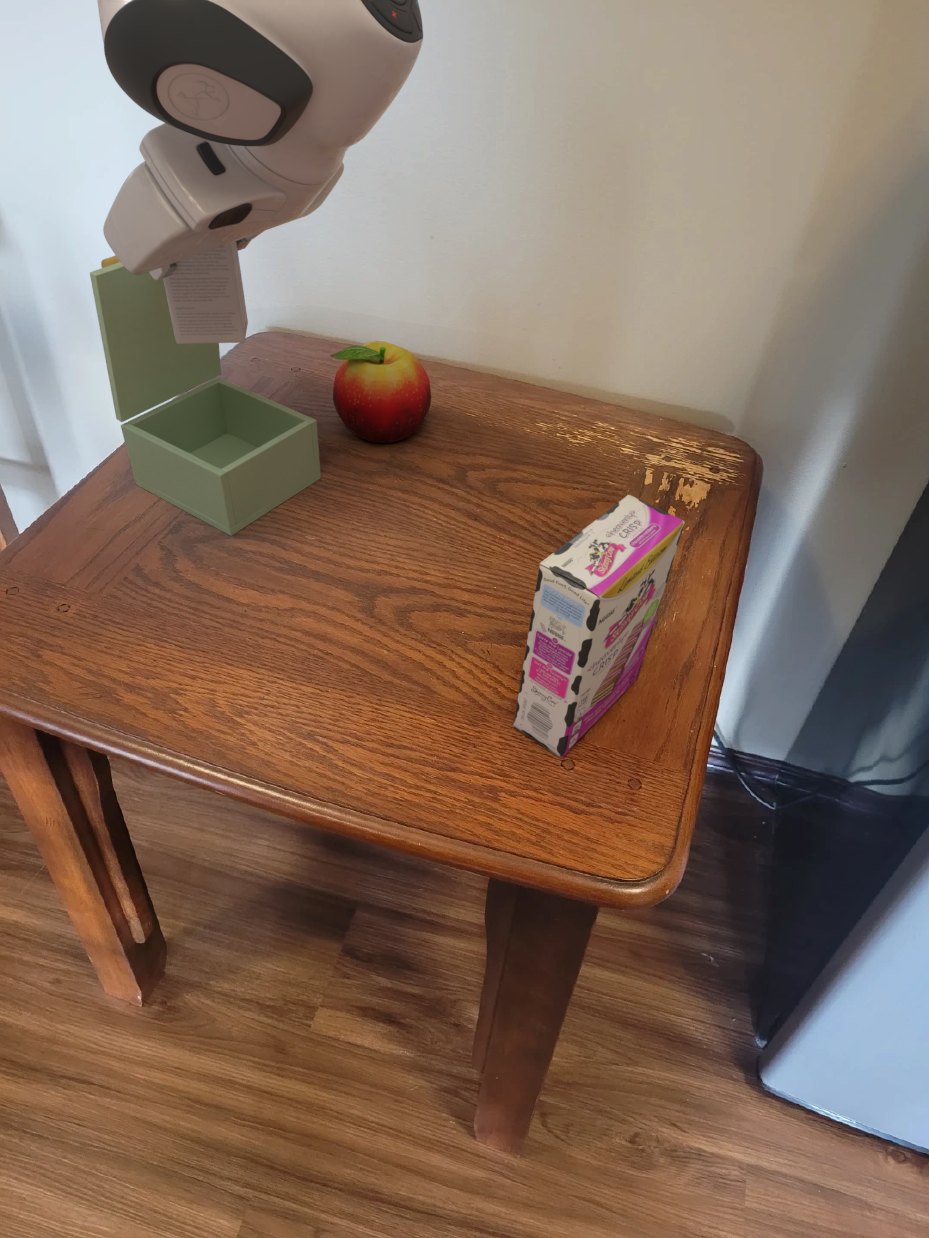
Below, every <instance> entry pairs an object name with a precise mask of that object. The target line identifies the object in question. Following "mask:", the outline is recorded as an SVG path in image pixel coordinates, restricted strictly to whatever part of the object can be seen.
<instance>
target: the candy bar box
mask: <svg viewBox="0 0 929 1238" xmlns="http://www.w3.org/2000/svg"><path fill="white" fill-rule="evenodd" d="M685 524H686V522H685V520H683V519H681V518H680V517H678V516H675V515H673V514H671V513H669V512H666V511H665V510H663V509H660V508H658V507H656V506H654V505H651V504H649V503H647V502H646V501H644V500H642V499H639V498H638V497H635V496H633V495H631V494H627V495H626V496H625V497H623V498H622V499H621V500H619V501H618V502H617V503H616V504H614V505H612V507H610V508H609V509H608V510H607V511H605V512H604V513H603V514H602V515H600V516H598V518H596V519H595V520H593V521H592V522H591V523H590V524H588V525H587V526H586V527H585V528H583V529H582V530H580V531H579V533H576V535H574V536H572V537H571V538H570V539H569V540H568V541H566V542H565V543H564V544H562V545H561V546H559V548H557V549H556V550H554V551H553V552H552V553H550V555H548V556H547V557H545V559H543V560H542V561H541V562H539V564H538V572H537V579H536V585H535V590H534V597H533V602H532V609H531V615H530V616H531V617H530V621H529V627H528V634H527V639H526V647H525V655H524V658H523V664H522V671H521V677H520V684H519V690H518V694H517V701H516V706H515V713H514V718H513V719H514V720H513V724H512V726H513V727H514V728H515V729H516V730H518V732H519V731H520V733H522V734H523V735H525V736H527V737H528V738H530V739H531V740H532V741H534V742H536V743H537V744H539V745H540V746H541V747H543V748H544V749H546V750H547V751H548V752H550V753H551V754H553V755H554V756H556V757H558V758H559V759H564V757H565V756H566V755H567V754H568V753H569V752H571V750H572V749H573V748H574V747H575V745H576V744H577V743H578V742H579V741H580V740H581V739H582V738H583V737H584V736H585V735H586V734H587V733H588V732H589V731H590V730H591V729H592V727H593V726H594V725H596V723H597V722H598V721H599V720H600V719H601V718H602V717H603V716H604V715H605V714H606V713H607V712H608V711H609V710H610V709H611V708H612V707H613V706H614V704H616V703H617V701H618V700H619V699H620V698H621V697H622V696H623V695H624V694H626V692H627V691H628V690H629V689H630V688H631V687H632V686H633V685H634V684H635V683H636V682H637V680H638V679H639V675H640V672H641V668H642V666H643V662H644V659H645V655H646V652H647V649H648V645H649V642H650V639H651V635H652V632H653V628H654V624H655V622H656V618H657V615H658V611H659V608H660V604H661V602H662V598H663V595H664V592H665V590H666V586H667V583H668V579H669V575H670V574H671V573H670V572H671V570H672V566H673V563H674V559H675V556H676V552H677V549H678V545H679V543H680V540H681V535H682V533H683V530H684V526H685Z"/></svg>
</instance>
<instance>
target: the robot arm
mask: <svg viewBox="0 0 929 1238" xmlns="http://www.w3.org/2000/svg"><path fill="white" fill-rule="evenodd" d="M96 2H97V9H98V17H99V22H100V31H101V37H102V38H101V39H102V42H103V51H104V57H105V61H106V65H107V68H108V70H109V72H110V74H111V76H112V78H113V79H114V82H116V83H117V85H118V86H119V88H120V89H121V90H122V91H123V92H124V94H125V95H127V96H128V98H129V99H130V100H131V101H132V102H134V104H136V105H137V106H138V107H140V108H141V109H142V110H143V111H145V112H146V113H148V114H149V115H151V116H152V117H154V118H155V119H157V120H159V121H161V122H163V123H162V124H160V125H158V126H156V127H154V128H152V129H151V130H149V131H148V132H147V133H146V134H145V135H144V136H143V138H142V140H141V142H140V143H139V148H138V149H139V152H140V154H141V156H142V158H143V160H144V161H143V162H141V163H140V164H138V165H137V166H136V167H135V168H134V169H133V170H132V171H131V172H130V173H129V175H128V176H127V178H126V179H125V180H124V182H123V183H122V185H121V187H120V189H119V191H118V192H117V194H116V196H115V198H114V199H113V202H112V205H111V207H110V209H109V211H108V214H107V216H106V218H105V221H104V224H103V229H102V231H103V232H102V233H103V236H104V239H105V241H106V243H107V244H108V246H109V248H110V249H111V251H112V252H113V254H114V256H115V255H116V256H117V258H118V259H119V261H120V262H121V263H122V264H123V266H124V267H125V268H126V269H127V270H128V271H129V272H130V273H132V274H133V275H136V276H139V275H143V274H145V273H148V272H149V273H150V275H151V276H152V277H153V279H154V280H156V281H157V280H160V279H163V278H166V277H168V276H171V275H172V274H173V273H172V272H173V271H175V269H176V268H177V264H176V263H175V262H178V261H181V260H184V259H187V258H190V257H192V256H195V255H198V254H201V253H204V252H206V251H209V250H212V249H215V248H218V247H220V246H223V245H226V244H229V243H232V242H234V241H236V242H237V249H238V252H239V251H241V250H244V249H246V248H247V247H248V245H249V244H250V243H251V242H252V240H254V239H255V238H257V237H258V236H259V235H261V234H262V233H264V232H265V231H268V230H271V229H273V228H276V227H279V226H282V225H285V224H288V223H290V222H293V221H296V220H299V219H302V218H304V217H307V216H309V215H310V214H312V213H314V212H315V211H316V210H317V209H318V208H320V207H321V206H322V205H323V203H324V202H325V201H326V199H327V198H328V196H329V195H330V194H331V192H332V191H333V189H335V187H336V185H337V183H338V182H339V180H340V179H341V177H342V176H343V173H344V170H345V164H344V162H343V161H344V158H345V154H346V153H347V151H348V149H350V147H352V146H354V145H356V144H358V143H359V142H361V141H362V140H363V139H364V138H365V137H366V136H367V135H368V134H369V133H370V132H371V131H372V129H373V128H374V126H375V125H376V124H377V123H378V122H379V120H380V119H381V118H382V116H383V115H384V114H385V113H386V111H387V110H388V109H389V107H390V106H391V105H392V103H393V102H394V100H395V99H396V97H397V96H398V95H399V93H400V91H401V90H402V88H403V86H404V85H405V83H406V81H407V80H408V78H409V76H410V74H411V73H412V70H413V68H414V67H415V64H416V63H417V60H418V57H419V54H420V51H421V49H422V46H423V42H424V29H423V28H424V27H423V18H422V14H421V8H420V4H419V1H418V0H96Z"/></svg>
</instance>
